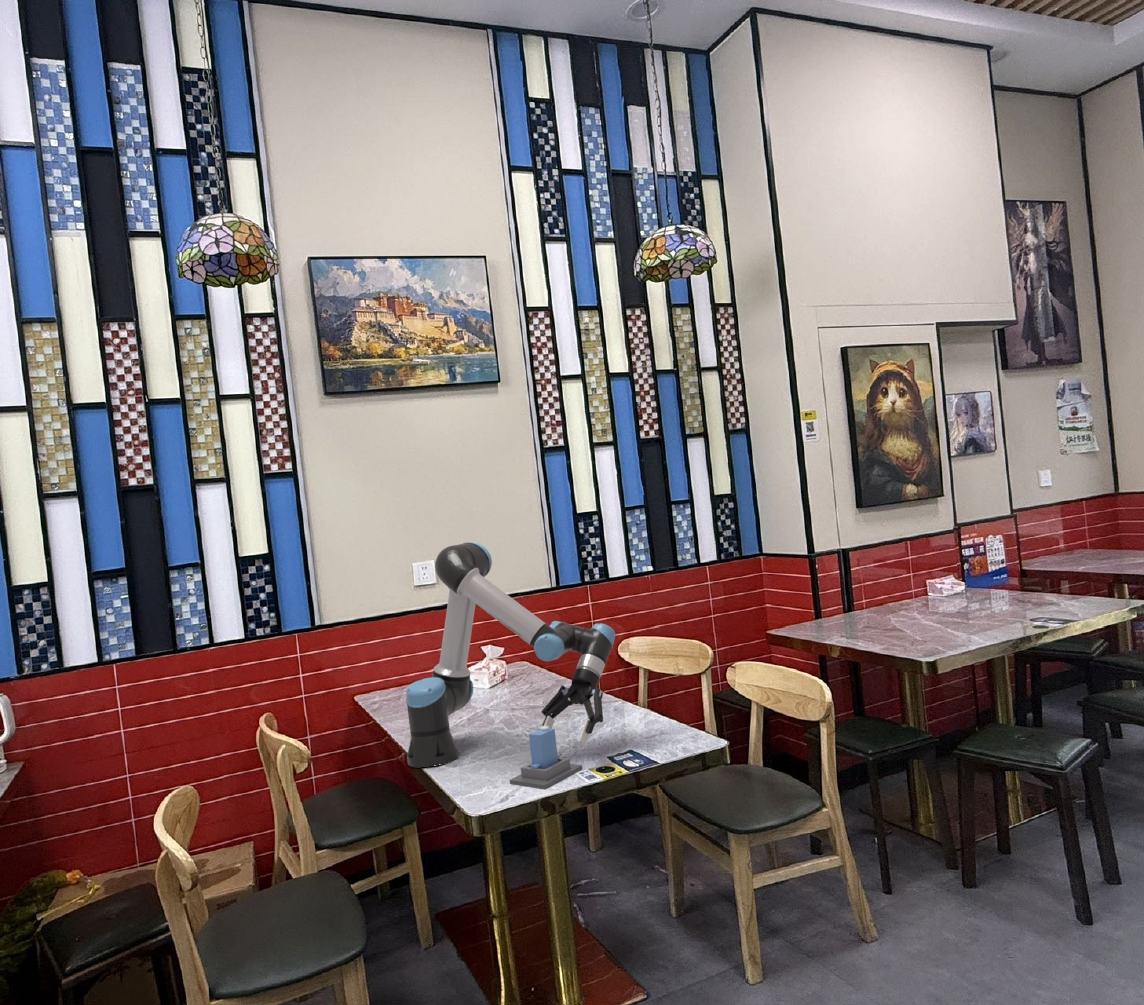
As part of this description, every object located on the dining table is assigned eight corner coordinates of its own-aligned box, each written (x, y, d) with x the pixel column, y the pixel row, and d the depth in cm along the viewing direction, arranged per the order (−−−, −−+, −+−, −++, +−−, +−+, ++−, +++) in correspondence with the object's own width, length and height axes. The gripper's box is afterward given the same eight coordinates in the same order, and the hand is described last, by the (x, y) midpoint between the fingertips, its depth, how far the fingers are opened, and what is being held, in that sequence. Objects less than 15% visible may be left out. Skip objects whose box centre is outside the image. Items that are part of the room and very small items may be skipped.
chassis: (545, 789, 211) (543, 775, 211) (510, 783, 219) (508, 770, 219) (582, 768, 224) (580, 755, 224) (548, 764, 231) (546, 751, 231)
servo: (540, 779, 216) (535, 734, 216) (529, 777, 219) (524, 733, 219) (563, 767, 224) (558, 723, 224) (551, 765, 226) (546, 722, 226)
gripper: (629, 682, 233) (605, 752, 221) (561, 678, 248) (534, 743, 237) (617, 668, 229) (591, 738, 217) (547, 665, 244) (520, 730, 232)
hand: (561, 741), depth 227 cm, fingers open, 13 cm apart
